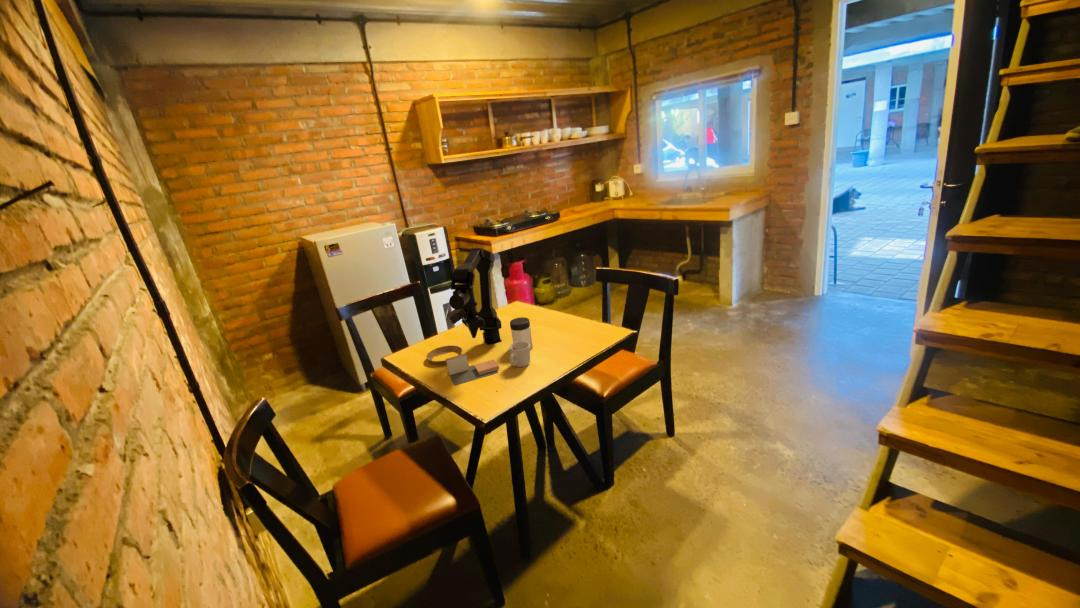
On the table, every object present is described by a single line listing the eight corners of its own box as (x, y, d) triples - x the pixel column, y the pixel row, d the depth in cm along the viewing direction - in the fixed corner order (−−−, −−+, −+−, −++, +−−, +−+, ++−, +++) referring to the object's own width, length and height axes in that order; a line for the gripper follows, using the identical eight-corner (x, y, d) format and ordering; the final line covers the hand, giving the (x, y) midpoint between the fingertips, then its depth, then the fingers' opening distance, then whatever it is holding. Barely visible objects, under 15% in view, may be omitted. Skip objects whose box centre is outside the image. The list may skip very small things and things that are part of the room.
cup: (521, 374, 168) (519, 354, 166) (503, 371, 172) (500, 352, 170) (535, 361, 177) (533, 342, 174) (518, 358, 181) (516, 340, 178)
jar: (509, 350, 188) (505, 324, 184) (517, 342, 195) (514, 316, 191) (528, 352, 185) (525, 325, 181) (536, 344, 192) (533, 317, 188)
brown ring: (426, 355, 194) (425, 349, 193) (461, 348, 197) (460, 342, 196) (428, 370, 180) (426, 364, 180) (465, 362, 184) (464, 356, 183)
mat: (489, 361, 181) (489, 360, 181) (498, 373, 171) (498, 372, 171) (447, 373, 176) (447, 372, 176) (454, 386, 165) (454, 385, 165)
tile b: (468, 368, 177) (465, 353, 175) (469, 370, 175) (466, 354, 173) (448, 374, 174) (445, 358, 172) (449, 375, 173) (446, 360, 170)
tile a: (493, 359, 178) (498, 365, 172) (494, 363, 179) (499, 369, 173) (473, 364, 176) (478, 371, 170) (474, 368, 176) (479, 375, 170)
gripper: (441, 298, 177) (448, 335, 183) (452, 312, 161) (459, 351, 166) (468, 292, 181) (474, 328, 186) (482, 305, 165) (488, 343, 170)
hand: (474, 337), depth 177 cm, fingers closed
